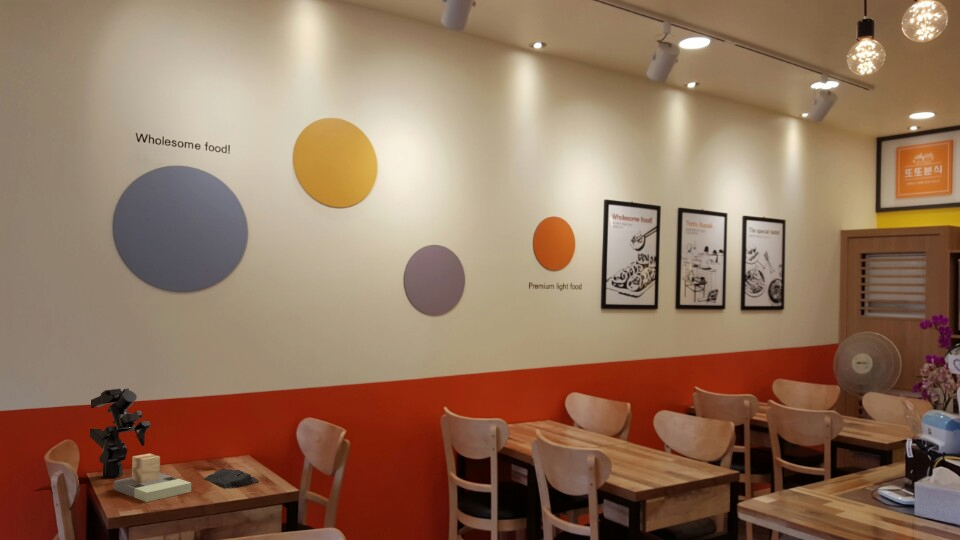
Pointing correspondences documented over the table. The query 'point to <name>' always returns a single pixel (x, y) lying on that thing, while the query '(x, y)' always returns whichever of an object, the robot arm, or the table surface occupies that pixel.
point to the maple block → (145, 468)
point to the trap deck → (153, 487)
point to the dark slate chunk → (231, 478)
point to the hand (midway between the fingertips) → (133, 447)
